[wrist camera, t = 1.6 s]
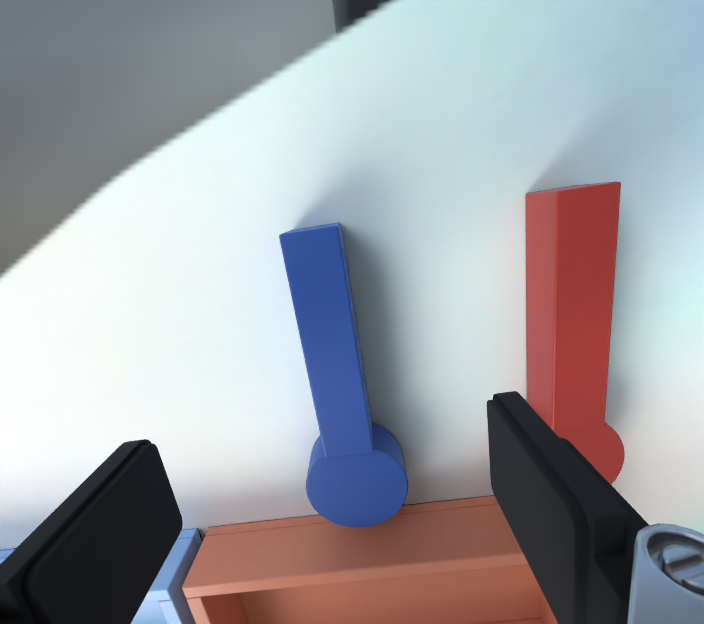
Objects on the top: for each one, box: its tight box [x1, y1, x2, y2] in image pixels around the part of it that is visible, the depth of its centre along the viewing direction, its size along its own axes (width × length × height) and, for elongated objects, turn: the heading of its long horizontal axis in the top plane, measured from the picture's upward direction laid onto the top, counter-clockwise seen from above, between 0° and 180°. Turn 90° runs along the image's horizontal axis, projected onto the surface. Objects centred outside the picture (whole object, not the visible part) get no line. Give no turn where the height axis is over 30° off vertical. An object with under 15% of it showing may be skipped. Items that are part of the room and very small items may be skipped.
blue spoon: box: [279, 223, 408, 528], centre depth 14 cm, size 4×13×2 cm, turn 9°
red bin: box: [182, 496, 558, 624], centre depth 17 cm, size 9×17×3 cm, turn 99°
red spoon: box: [526, 182, 624, 484], centre depth 14 cm, size 4×13×2 cm, turn 9°
